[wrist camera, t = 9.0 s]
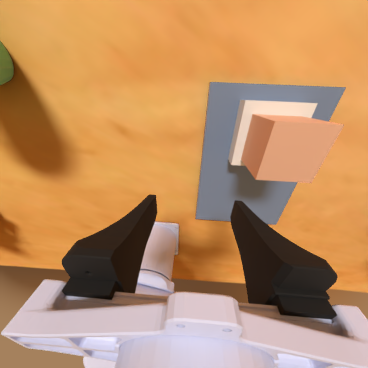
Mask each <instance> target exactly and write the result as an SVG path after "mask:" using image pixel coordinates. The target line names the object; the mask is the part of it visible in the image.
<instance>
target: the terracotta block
mask: <svg viewBox="0 0 368 368" xmlns="http://www.w3.org/2000/svg"><path fill="white" fill-rule="evenodd" d="M343 126H344V124H339V123H333V122H328V121H323V120H318V119H313V118H308V117H303V116H284V115H263V114H252V118H251V122H250V126H249V130H248V134H247V138H246V141H245V145H244V149H243V153H242V157H241V160H242V162H243V163H244V164H245V166H246V167H247V168H248V170H249V171H250V173H251V174H252V175H253V177H254V178H255V179H256V180H269V181H285V182H302V183H312V181H313V179H314V177H315V176H316V174H317V172H318V170H319V169H320V167H321V165H322V163H323V162H324V160H325V158H326V156H327V155H328V153H329V151H330V149H331V148H332V146H333V144H334V142H335V141H336V139H337V137H338V135H339V134H340V132H341V130H342V128H343Z"/></svg>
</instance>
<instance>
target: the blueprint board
mask: <svg viewBox="0 0 368 368" xmlns="http://www.w3.org/2000/svg"><path fill="white" fill-rule="evenodd" d="M345 88H346V87H320V86H295V85H270V84H244V83H219V82H210V85H209V94H208V104H207V113H206V123H205V132H204V142H203V151H202V161H201V170H200V180H199V189H198V199H197V208H196V219H204V220H218V221H231V219H230V216H231V212H232V209H233V205H234V201H235V200H238V201H242V202H244V203H245V204H246V205H247V206H248V207H249V208H250V209H251V210H252V211H253V212H254V213H255V214H256V215H257V216H258V217H259V218H260V219H261V220H262V221H263V222H265V223H266V224H275V225H276V224H277V222H278V220H279V218H280V216H281V214H282V212H283V210H284V208H285V206H286V204H287V202H288V200H289V198H290V196H291V194H292V192H293V190H294V188H295V186H296V184H297V182H285V181H269V180H256V179H255V178H254V177H253V175H252V174H251V173H250V171H249V170H248V168H247V167H246V166H245V164H244V163H243V162H242V160H241V157H242V153H243V149H244V145H245V141H246V138H247V134H248V130H249V126H250V122H251V118H252V114H263V115H284V116H303V117H308V118H313V119H318V120H323V121H328V122H329V120H330V118H331V116H332V114H333V112H334V110H335V108H336V106H337V104H338V102H339V100H340V98H341V96H342V94H343V92H344V90H345Z"/></svg>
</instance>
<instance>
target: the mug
mask: <svg viewBox="0 0 368 368" xmlns="http://www.w3.org/2000/svg"><path fill="white" fill-rule="evenodd" d="M13 75H14V66H13V62H12V59H11V57H10V55H9V53H8V51H7V49H6V48H5V47H4V45H3V44H2V42H1V41H0V85H2V84H4V83H6V82H8V81H10V80H11V79H12V77H13Z"/></svg>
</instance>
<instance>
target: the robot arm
mask: <svg viewBox="0 0 368 368" xmlns="http://www.w3.org/2000/svg"><path fill="white" fill-rule="evenodd" d="M156 215H157V204H156V195H148V196H147V197H146V198H145V199H144V200H143V201H142V202H141V203H140V204H139V205H138V206H137V207H136V208H134V209H133V210H132V211H131V212H130V213H128V214H127V215H126V216H125V217H123V218H122V219H120V220H119V221H117V222H116V223H114V224H112V225H110V226H109V227H107V228H105V229H103V230H101V231H99V232H97V233H95V234H93V235H91V236H88V237H86V238H83V239H81V240H78V241H77V242H76V243H75V244H74V245H73V246H72V248H71V249H70V250H69V251H68V253H67V254H66V255H65V256H64V258H63V259H62V265H63V267H64V269H65V270H66V272H67V273H68V274H69V276H70V277H71V278H70V279H69V281H68V282H67V283H66V282H64V281H60V280H49V279H46V280H44V281H43V282H42V283H41V284H40V286H39V287H38V288H37V289H36V291H35V292H34V293H33V294H32V295H31V297H30V298H29V299H28V301H27V302H26V303H25V304H24V305H23V306H22V308H21V309H20V310H19V312H18V313H17V314H16V315H15V316H14V318H13V319H12V320H11V321H10V322H9V324H8V325H7V326H6V327H5V329H4V330H3V331H2V332H1V334H2V335H3V336H5V337H7V338H9V339H11V340H13V341H15V342H16V343H18V344H20V345H22V346H24V347H26V348H30V349H39V350H47V351H54V352H61V353H68V354H73V355H79V356H84V359H83V362H84V366H85V368H368V320H367V318H366V317H365V316H364V315H363V313H362V312H361V311H360V309H359V308H358V307H356V306H349V305H332V306H331V305H330V303H329V302H328V299H329V296H328V294H327V293H326V290H328V289H329V288H330V287H331V286H332V285H333V284H334V283H335V282H336V280H337V274H336V273H335V271H334V270H333V269H332V268H331V266H330V265H329V264H328V263H327V261H326V260H324V259H322V258H320V257H318V256H316V255H314V254H312V253H310V252H308V251H306V250H305V249H303V248H301V247H299V246H297V245H296V244H294V243H292V242H291V241H289V240H288V239H286V238H285V237H283V236H282V235H280V234H279V233H277V232H276V231H275V230H273V229H272V228H271V227H269V226H268V225H267V224H266V223H265V222H263V221H262V220H261V219H260V218H259V217H258V216H257V215H256V214H255V213H254V212H253V211H252V210H251V209H250V208H249V207H248V206H247V205H246V204H245V203H244V202H242V201H238V200H235V201H234V205H233V209H232V212H231V216H230V219H231V225H232V229H233V232H234V235H235V239H236V242H237V245H238V248H239V251H240V255H241V260H242V265H243V270H244V276H245V281H246V288H247V294H248V302H249V303H238V302H237V301H236V300H235V299H234V298H232V297H231V296H226V295H220V294H208V293H197V292H185V291H184V292H176V291H174V283H173V282H171V278H172V270H173V262H174V255H178V242H179V224H177V223H166V222H155V219H156ZM176 227H177V228H176Z"/></svg>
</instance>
